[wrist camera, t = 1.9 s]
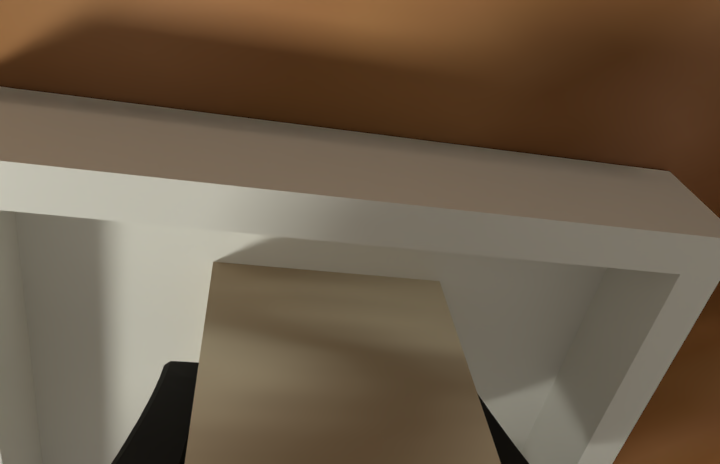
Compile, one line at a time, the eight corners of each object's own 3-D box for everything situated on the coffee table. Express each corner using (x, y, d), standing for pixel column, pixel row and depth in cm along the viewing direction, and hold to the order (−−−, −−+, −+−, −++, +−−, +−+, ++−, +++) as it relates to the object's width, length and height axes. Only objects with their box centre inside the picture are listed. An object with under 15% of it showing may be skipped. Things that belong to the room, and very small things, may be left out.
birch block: (200, 422, 15) (169, 668, 11) (212, 262, 12) (179, 494, 8) (393, 431, 16) (436, 661, 11) (439, 280, 13) (513, 502, 9)
